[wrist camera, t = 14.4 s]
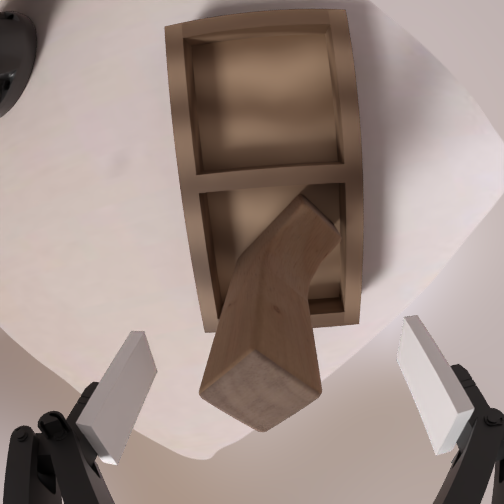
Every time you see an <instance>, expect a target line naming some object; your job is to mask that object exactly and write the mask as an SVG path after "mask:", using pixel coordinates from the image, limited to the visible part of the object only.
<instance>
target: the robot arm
mask: <svg viewBox="0 0 504 504" xmlns="http://www.w3.org/2000/svg"><path fill="white" fill-rule="evenodd" d="M35 54H36V31H35V27H34V25H33V23H32V21H31V20H30V19H29V18H28V17H27V16H25V15H23V14H20V13H16V12H12V11H5V12H0V117H2V116H3V115H4V114H6V113H7V112H8V111H9V110H10V109H11V108H12V106H13V105H14V104H15V103H16V101H17V100H18V98H19V97H20V95H21V93H22V92H23V90H24V88H25V86H26V83H27V81H28V79H29V76H30V73H31V70H32V67H33V63H34V59H35ZM397 362H398V364H399V366H400V368H401V371H402V373H403V375H404V378H405V380H406V382H407V385H408V387H409V389H410V391H411V394H412V396H413V398H414V401H415V403H416V406H417V408H418V411H419V413H420V416H421V418H422V420H423V423H424V425H425V428H426V431H427V433H428V436H429V438H430V441H431V444H432V446H433V449H434V451H435V454H436V455H439V454H443V453H446V452H449V451H452V449H453V448H454V446H455V444H456V443H457V445H458V448H459V451H458V452H457V454H456V456H455V457H454V459H453V460H452V462H451V463H453V464H452V466H451V468H450V471H449V472H448V475H447V477H446V479H445V481H444V483H443V485H442V487H441V489H440V491H439V493H438V495H437V497H436V499H435V501H434V502H433V504H480V503H481V500H482V498H483V495H484V493H485V490H486V487H487V484H488V481H489V479H490V476H491V473H492V470H493V467H494V464H495V476H494V488H493V496H492V504H504V414H503V413H502V412H501V411H499V410H497V409H495V408H490V407H489V405H488V404H487V402H486V400H485V399H484V397H483V395H482V394H481V392H480V390H479V389H478V387H477V386H476V384H475V382H474V381H473V380H472V377H471V376H470V374H469V373H468V371H467V370H466V369H465V368H463V367H462V366H461V365H459V364H457V365H452V366H450V365H449V364H448V362H447V360H446V359H445V357H444V356H443V354H442V352H441V351H440V349H439V347H438V346H437V344H436V343H435V341H434V340H433V338H432V337H431V335H430V334H429V332H428V330H427V329H426V327H425V326H424V324H423V323H422V321H421V320H420V319H419V317H418V316H417V315H415V316H407V317H404V320H403V326H402V333H401V338H400V344H399V349H398V354H397ZM156 373H157V369H156V366H155V363H154V360H153V357H152V354H151V351H150V348H149V345H148V341H147V338H146V335H145V332H144V331H131V333H130V334H129V336H128V337H127V339H126V340H125V342H124V344H123V345H122V347H121V348H120V350H119V352H118V353H117V355H116V356H115V358H114V360H113V361H112V363H111V364H110V366H109V368H108V369H107V371H106V373H105V374H104V376H103V377H102V379H101V381H100V382H92V383H91V384H90V385H89V386H88V387H86V388H85V390H84V392H83V393H82V395H81V397H80V398H79V400H78V401H77V403H76V405H75V406H74V408H73V409H72V411H71V413H70V414H69V416H68V418H67V419H65V418H64V416H63V415H62V414H61V413H60V412H57V411H51V412H48V413H46V414H44V415H43V416H42V417H41V418H40V419H39V421H38V428H39V429H40V430H41V432H42V433H34V431H33V430H32V429H31V427H29V426H20V427H18V428H16V429H15V430H14V431H13V433H12V435H11V438H10V444H9V451H8V458H7V466H6V473H5V483H4V496H3V504H62V498H63V501H64V504H115V503H114V501H113V499H112V497H111V494H110V492H109V490H108V488H107V486H106V484H105V481H104V479H103V477H102V474H101V472H100V470H99V467H98V465H97V463H96V462H95V459H96V457H97V455H98V456H99V457H100V459H101V460H102V462H105V463H109V464H114V465H118V463H119V460H120V458H121V456H122V453H123V451H124V448H125V446H126V443H127V441H128V439H129V436H130V434H131V431H132V429H133V427H134V424H135V422H136V420H137V417H138V415H139V412H140V410H141V408H142V405H143V403H144V401H145V398H146V396H147V394H148V392H149V389H150V387H151V385H152V382H153V380H154V378H155V375H156Z"/></svg>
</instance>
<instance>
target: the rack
mask: <svg viewBox="0 0 504 504" xmlns="http://www.w3.org/2000/svg"><path fill="white" fill-rule="evenodd" d="M165 43H166V57H167V70H168V82H169V94H170V104H171V114H172V124H173V133H174V142H175V150H176V158H177V166H178V174H179V181H180V189H181V196H182V203H183V210H184V217H185V223H186V230H187V236H188V242H189V248H190V254H191V260H192V266H193V272H194V278H195V283H196V289H197V294H198V300H199V305H200V310H201V315H202V320H203V326H204V330H205V333H211V332H216V330H217V327H218V323H219V320H220V316H221V313H222V310H223V306H224V303H225V299H226V296H227V292H228V289H229V285H230V282H231V279H232V275H233V272H234V269H235V266H236V262H237V259H238V258H239V257H240V256H241V255H242V254H243V253H244V252H245V250H246V249H247V248H248V247H249V246H250V245H251V244H252V243H253V242H254V241H255V240H256V239H257V238H258V237H259V236H260V234H261V233H262V232H263V231H264V230H265V229H266V228H267V227H268V226H269V225H270V224H271V223H272V222H273V221H274V220H275V218H276V217H277V216H278V215H279V214H280V213H281V212H282V211H283V210H284V209H285V208H286V207H287V206H288V205H289V204H290V203H291V202H292V200H293V199H294V198H295V197H296V196H297V195H299V194H302V195H304V196H305V197H306V198H307V199H308V200H310V201H311V202H312V203H313V204H314V205H315V206H316V207H317V208H318V209H319V210H320V211H321V212H322V213H323V214H324V215H326V216H327V217H328V218H329V219H330V220H331V221H332V222H333V224H334V225H335V227H336V228H337V230H338V232H339V233H340V235H341V237H342V239H341V241H340V242H339V244H338V245H337V246H336V247H335V248H334V249H333V250H332V252H331V253H330V254H329V255H328V256H327V257H326V258H325V259H324V260H323V262H322V263H321V264H320V265H319V267H318V269H317V271H316V273H315V274H314V276H313V278H312V280H311V282H310V285H309V292H308V298H307V299H308V304H309V310H310V316H311V322H312V328H319V327H332V326H343V325H354V324H359V317H360V303H361V287H362V264H363V169H362V147H361V131H360V117H359V106H358V95H357V85H356V76H355V68H354V60H353V53H352V46H351V39H350V33H349V26H348V20H347V15H346V10H341V9H289V10H271V11H258V12H248V13H239V14H231V15H224V16H217V17H210V18H204V19H199V20H193V21H188V22H183V23H179V24H174V25H170V26H165Z"/></svg>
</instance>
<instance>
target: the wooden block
mask: <svg viewBox="0 0 504 504" xmlns="http://www.w3.org/2000/svg"><path fill="white" fill-rule="evenodd" d="M341 239H342V237H341V235H340V233H339V232H338V230H337V228H336V227H335V225H334V224H333V222H332V221H331V220H330V219H329V218H328V217H327V216H326V215H324V214H323V213H322V212H321V211H320V210H319V209H318V208H317V207H316V206H315V205H314V204H313V203H312V202H311V201H310V200H308V199H307V198H306V197H305V196H304V195H302V194H299V195H297V196H296V197H295V198H294V199H293V200H292V202H291V203H290V204H289V205H288V206H287V207H286V208H285V209H284V210H283V211H282V212H281V213H280V214H279V215H278V216H277V217H276V218H275V220H274V221H273V222H272V223H271V224H270V225H269V226H268V227H267V228H266V229H265V230H264V231H263V232H262V233H261V234H260V236H259V237H258V238H257V239H256V240H255V241H254V242H253V243H252V244H251V245H250V246H249V247H248V248H247V249H246V250H245V252H244V253H243V254H242V255H241V256H240V257H239V258H238V259H237V262H236V266H235V269H234V272H233V275H232V279H231V282H230V285H229V289H228V292H227V296H226V299H225V303H224V306H223V310H222V313H221V316H220V320H219V323H218V327H217V330H216V334H215V337H214V341H213V344H212V348H211V351H210V354H209V358H208V361H207V365H206V368H205V372H204V375H203V379H202V382H201V386H200V389H199V395H200V396H201V398H202V399H204V400H205V401H207V402H208V403H210V404H212V405H213V406H215V407H217V408H218V409H220V410H222V411H223V412H225V413H227V414H228V415H230V416H232V417H233V418H235V419H237V420H239V421H240V422H242V423H244V424H246V425H247V426H249V427H251V428H253V429H255V430H257V431H258V432H266V431H268V430H269V429H271V428H273V427H274V426H276V425H278V424H279V423H281V422H282V421H284V420H285V419H287V418H288V417H290V416H292V415H293V414H295V413H296V412H298V411H300V410H301V409H303V408H304V407H306V406H307V405H309V404H310V403H311V402H313V401H314V400H316V399H317V398H319V396H320V395H321V393H322V387H321V380H320V373H319V366H318V360H317V353H316V347H315V341H314V334H313V328H312V322H311V316H310V310H309V304H308V299H307V298H308V292H309V285H310V282H311V280H312V278H313V276H314V274H315V273H316V271H317V269H318V267H319V265H320V264H321V263H322V262H323V260H324V259H325V258H326V257H327V256H328V255H329V254H330V253H331V252H332V250H333V249H334V248H335V247H336V246H337V245H338V244H339V242H340V241H341Z"/></svg>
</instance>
